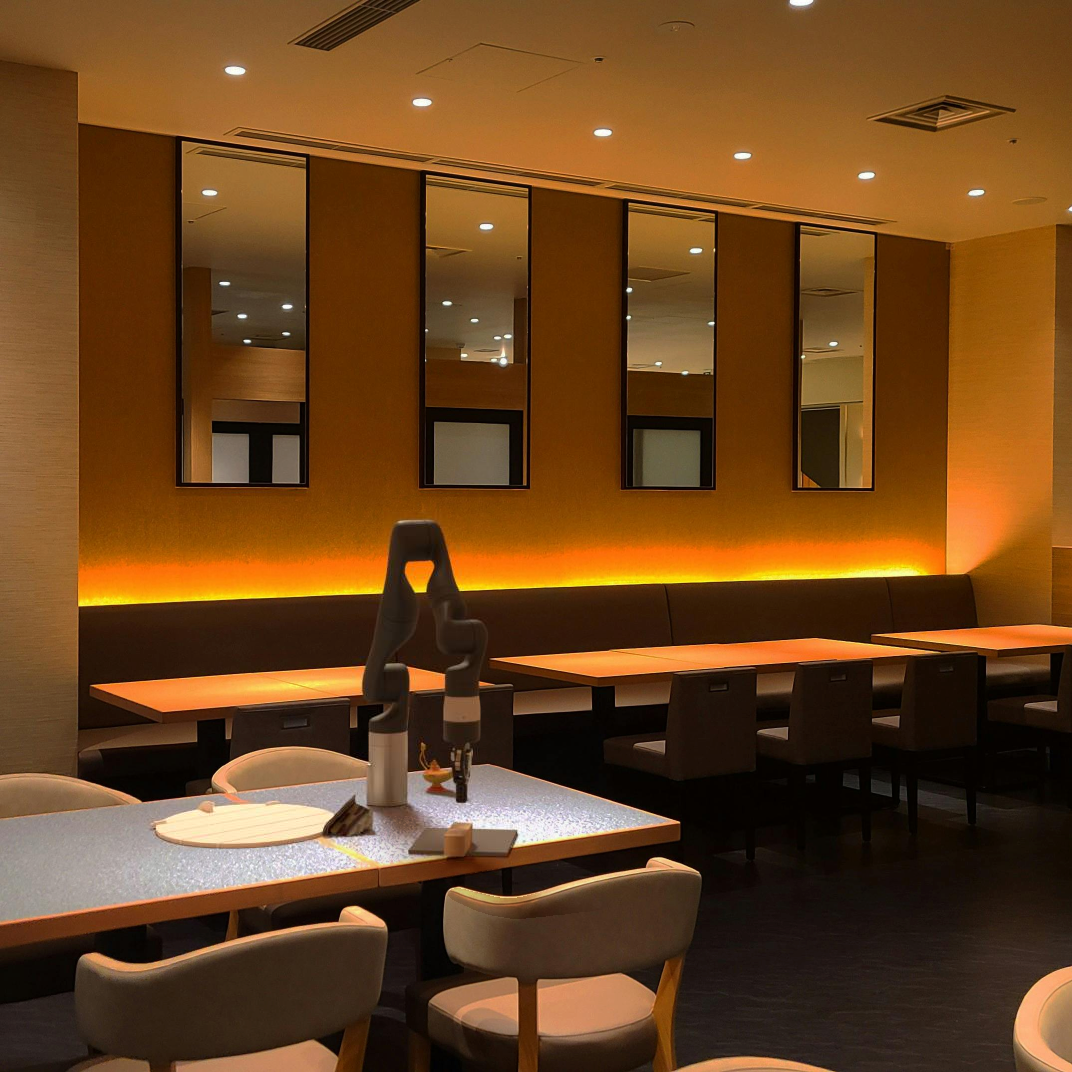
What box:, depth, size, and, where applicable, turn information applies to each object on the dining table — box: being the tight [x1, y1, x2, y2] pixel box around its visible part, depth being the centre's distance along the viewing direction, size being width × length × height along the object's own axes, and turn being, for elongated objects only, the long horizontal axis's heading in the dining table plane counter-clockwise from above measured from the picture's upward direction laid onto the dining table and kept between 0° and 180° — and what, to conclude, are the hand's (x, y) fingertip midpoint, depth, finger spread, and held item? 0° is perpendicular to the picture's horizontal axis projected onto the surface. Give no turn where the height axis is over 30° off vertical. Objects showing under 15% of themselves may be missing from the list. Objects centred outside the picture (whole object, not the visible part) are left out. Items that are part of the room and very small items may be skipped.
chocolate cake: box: [322, 794, 374, 838], centre depth 283 cm, size 10×7×12 cm
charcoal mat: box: [407, 827, 518, 857], centre depth 272 cm, size 20×20×1 cm
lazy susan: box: [149, 800, 336, 849], centre depth 288 cm, size 40×39×3 cm
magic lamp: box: [419, 742, 453, 793], centre depth 328 cm, size 7×18×11 cm, turn 40°
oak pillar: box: [443, 821, 474, 858], centre depth 264 cm, size 4×4×12 cm
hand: (461, 802), depth 268 cm, fingers closed
